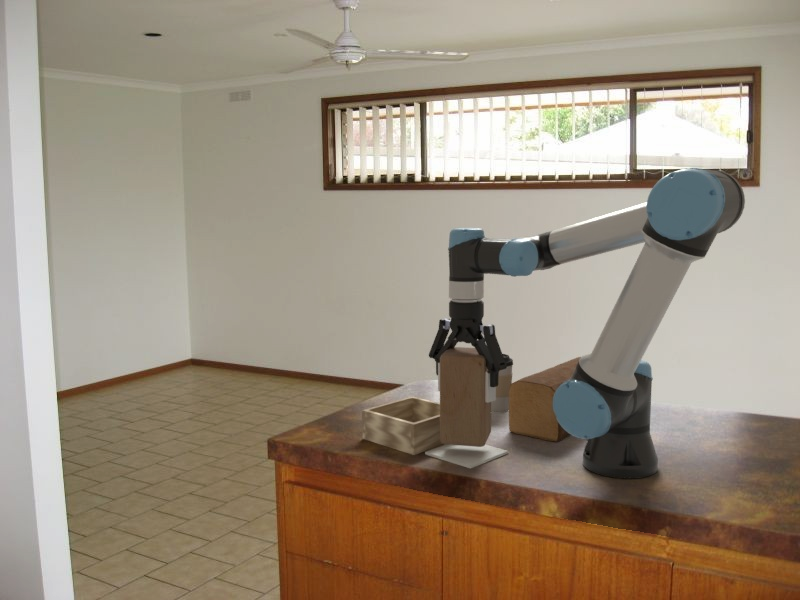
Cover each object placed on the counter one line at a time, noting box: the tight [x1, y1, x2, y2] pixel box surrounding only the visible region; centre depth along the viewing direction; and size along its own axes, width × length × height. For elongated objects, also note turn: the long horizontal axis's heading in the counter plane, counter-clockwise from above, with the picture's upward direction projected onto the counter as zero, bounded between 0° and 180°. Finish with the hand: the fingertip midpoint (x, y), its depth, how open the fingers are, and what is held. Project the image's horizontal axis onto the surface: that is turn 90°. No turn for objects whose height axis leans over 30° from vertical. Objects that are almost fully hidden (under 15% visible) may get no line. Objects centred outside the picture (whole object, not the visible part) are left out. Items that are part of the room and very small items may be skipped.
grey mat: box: [424, 444, 509, 469], centre depth 168 cm, size 13×13×1 cm
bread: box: [508, 356, 582, 443], centre depth 191 cm, size 14×34×14 cm, turn 141°
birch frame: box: [361, 395, 445, 456], centre depth 180 cm, size 17×17×7 cm
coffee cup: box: [491, 353, 514, 413], centre depth 203 cm, size 9×9×15 cm
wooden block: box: [439, 346, 492, 447], centre depth 167 cm, size 10×10×20 cm
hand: (466, 395), depth 167 cm, fingers closed on wooden block, 13 cm apart
